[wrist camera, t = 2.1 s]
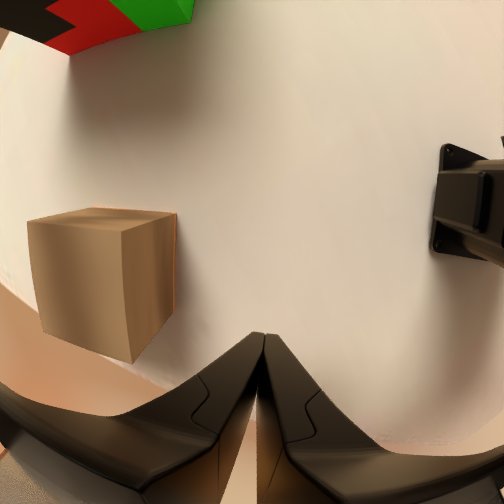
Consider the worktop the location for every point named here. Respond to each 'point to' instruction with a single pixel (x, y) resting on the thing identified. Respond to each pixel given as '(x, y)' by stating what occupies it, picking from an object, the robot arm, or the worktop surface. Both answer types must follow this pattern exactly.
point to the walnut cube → (104, 277)
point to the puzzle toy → (89, 20)
